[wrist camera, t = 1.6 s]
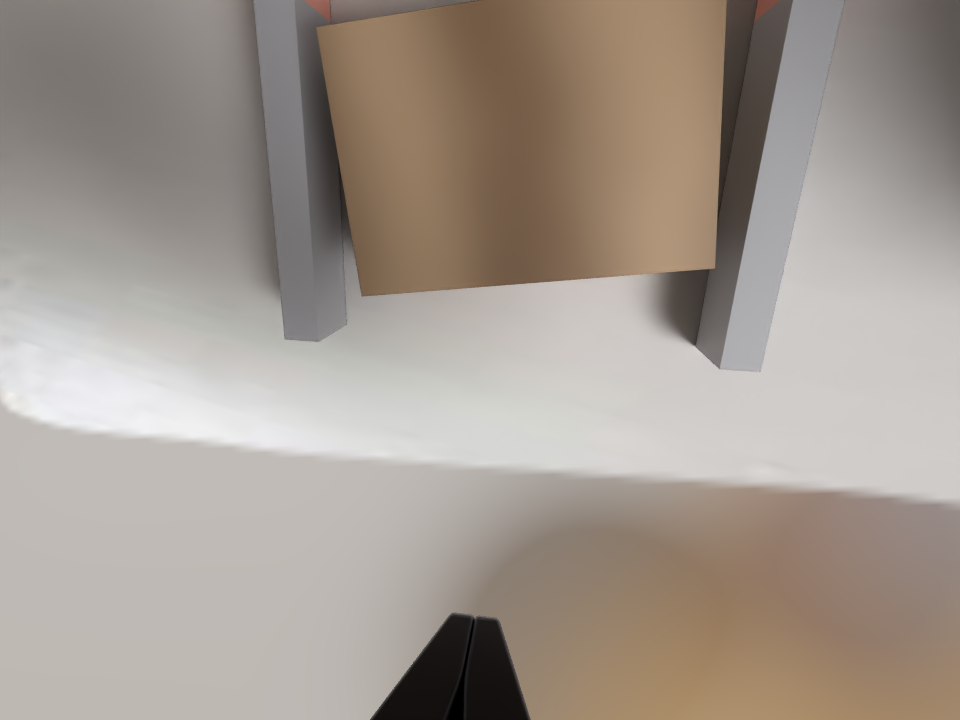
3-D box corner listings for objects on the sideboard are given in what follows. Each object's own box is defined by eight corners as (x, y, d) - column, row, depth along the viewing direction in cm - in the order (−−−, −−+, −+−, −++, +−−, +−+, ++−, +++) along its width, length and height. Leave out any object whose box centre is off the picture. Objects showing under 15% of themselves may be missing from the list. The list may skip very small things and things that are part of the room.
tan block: (680, 21, 15) (728, -42, 11) (676, 254, 17) (715, 268, 13) (368, 68, 16) (316, 27, 13) (399, 277, 18) (362, 296, 15)
